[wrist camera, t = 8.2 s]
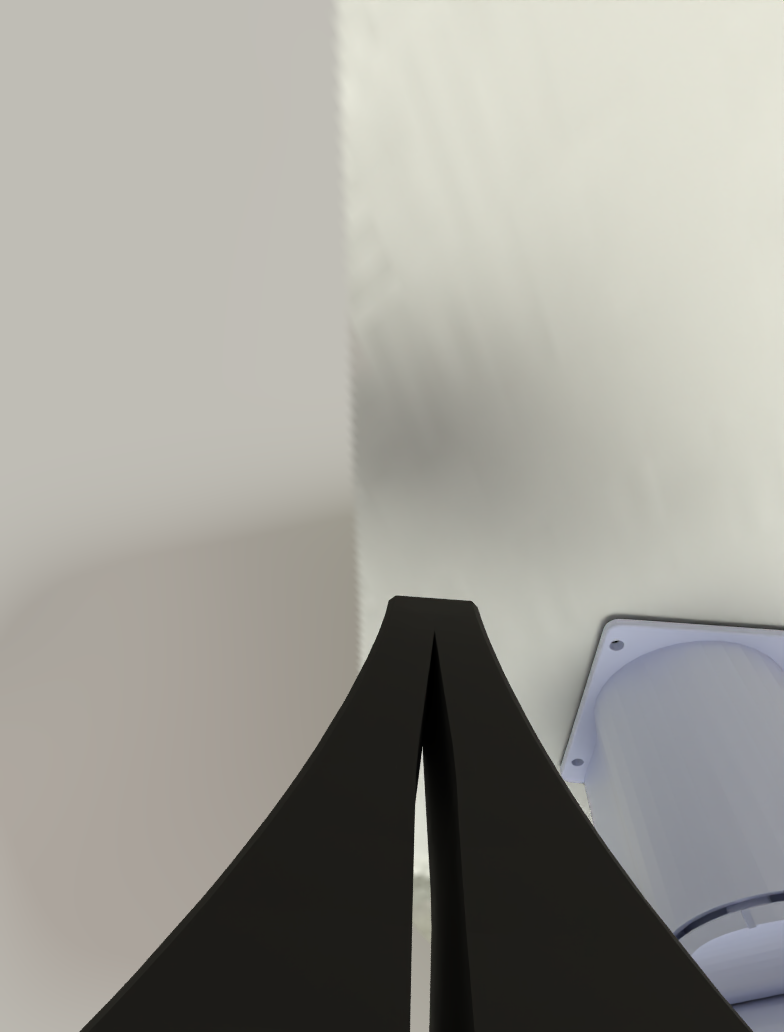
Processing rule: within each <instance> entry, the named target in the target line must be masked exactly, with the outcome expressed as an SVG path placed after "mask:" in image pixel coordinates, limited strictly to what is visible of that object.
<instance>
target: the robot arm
mask: <svg viewBox="0 0 784 1032" xmlns="http://www.w3.org/2000/svg"><path fill="white" fill-rule="evenodd" d="M617 640H619V641H618V642H617V643H611V642H613V641H617ZM422 746H423V763H424V781H425V799H426V816H427V834H428V852H429V869H430V887H431V923H432V933H431V981H430V983H431V984H430V1025H429V1032H784V630H771V629H757V628H743V627H729V626H715V625H701V624H687V623H673V622H659V621H644V620H630V619H615V620H612V621H610V622H608V623H607V624H606V625H605V627H604V629H603V632H602V636H601V639H600V642H599V645H598V648H597V652H596V655H595V658H594V661H593V664H592V668H591V671H590V674H589V677H588V681H587V684H586V687H585V690H584V693H583V697H582V700H581V703H580V706H579V709H578V713H577V716H576V719H575V722H574V726H573V729H572V732H571V735H570V738H569V742H568V745H567V748H566V751H565V754H564V758H563V761H562V764H561V767H560V772H561V776H560V774H559V772H558V771H557V769H556V767H555V766H554V764H553V762H552V761H551V759H550V757H549V756H548V754H547V752H546V751H545V749H544V747H543V746H542V744H541V742H540V740H539V739H538V737H537V735H536V733H535V731H534V730H533V728H532V726H531V724H530V723H529V721H528V719H527V717H526V715H525V713H524V711H523V709H522V707H521V705H520V703H519V702H518V700H517V698H516V696H515V694H514V692H513V690H512V688H511V686H510V684H509V682H508V680H507V678H506V676H505V674H504V672H503V670H502V668H501V665H500V663H499V661H498V659H497V657H496V654H495V652H494V650H493V648H492V645H491V643H490V640H489V638H488V636H487V633H486V630H485V628H484V625H483V622H482V620H481V617H480V614H479V610H478V607H477V606H476V605H475V604H474V603H473V602H472V601H463V600H449V599H436V598H422V597H409V596H395V597H393V598H392V599H390V600H389V602H388V606H387V610H386V614H385V617H384V619H383V622H382V625H381V628H380V630H379V633H378V635H377V638H376V640H375V642H374V644H373V646H372V649H371V651H370V653H369V655H368V657H367V659H366V661H365V663H364V665H363V667H362V669H361V671H360V673H359V675H358V677H357V679H356V680H355V682H354V684H353V686H352V688H351V690H350V692H349V694H348V696H347V697H346V699H345V701H344V703H343V704H342V706H341V708H340V709H339V711H338V713H337V714H336V716H335V717H334V719H333V721H332V722H331V724H330V726H329V727H328V729H327V731H326V732H325V734H324V735H323V737H322V739H321V741H320V742H319V744H318V745H317V747H316V748H315V750H314V751H313V753H312V755H311V756H310V757H309V759H308V761H307V762H306V764H305V765H304V766H303V768H302V770H301V771H300V772H299V774H298V775H297V777H296V778H295V779H294V781H293V782H292V784H291V785H290V787H289V788H288V789H287V791H286V792H285V794H284V795H283V796H282V798H281V799H280V800H279V802H278V803H277V805H276V806H275V807H274V809H273V810H272V811H271V813H270V814H269V815H268V817H267V818H266V819H265V821H264V822H263V823H262V824H261V826H260V827H259V828H258V830H257V831H256V832H255V833H254V835H253V836H252V837H251V839H250V840H249V841H248V842H247V844H246V845H245V846H244V847H243V849H242V850H241V851H240V853H239V854H238V855H237V856H236V858H235V859H234V860H233V862H232V863H231V864H230V865H229V867H228V868H227V869H226V870H225V871H224V872H223V874H222V875H221V876H220V877H219V879H218V880H217V881H216V882H215V883H214V885H213V886H212V887H211V888H210V889H209V890H208V892H207V893H206V894H205V895H204V896H203V898H202V899H201V900H200V901H199V902H198V903H197V904H196V906H195V907H194V908H193V909H192V910H191V911H190V912H189V913H188V914H187V916H186V917H185V918H184V919H183V920H182V921H181V922H180V923H179V925H178V926H177V927H176V928H175V929H174V930H173V931H172V933H171V934H170V935H169V936H168V937H167V938H166V939H165V941H164V942H163V943H162V944H161V945H160V946H159V947H158V948H157V949H156V951H155V952H154V953H153V954H152V955H151V956H150V957H149V958H148V960H147V961H146V962H145V963H144V964H143V965H142V967H141V968H140V969H139V970H138V971H137V972H136V973H135V974H134V975H133V976H132V977H131V978H130V980H129V981H128V982H127V983H126V984H125V985H124V986H123V987H122V988H121V989H120V990H119V991H118V992H117V993H116V995H115V996H114V997H113V998H112V999H111V1000H110V1001H109V1002H108V1003H107V1004H106V1005H105V1006H104V1007H103V1008H102V1009H101V1010H100V1011H99V1012H98V1013H97V1014H96V1015H95V1016H94V1017H93V1018H92V1020H90V1021H89V1022H88V1024H86V1025H85V1027H84V1028H83V1029H82V1030H81V1031H80V1032H410V999H411V996H410V995H411V951H412V905H413V863H414V824H415V801H416V793H417V785H418V778H419V770H420V762H421V754H422ZM562 778H563V779H564V780H565V781H567V782H574V783H584V785H585V789H586V793H587V798H588V802H589V806H590V810H591V815H592V819H593V823H594V826H593V825H592V823H591V822H590V820H589V819H588V817H587V816H586V815H585V813H584V812H583V810H582V809H581V807H580V805H579V804H578V802H577V801H576V799H575V798H574V796H573V795H572V793H571V792H570V790H569V788H568V787H567V785H566V784H565V782H564V780H563V779H562Z"/></svg>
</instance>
